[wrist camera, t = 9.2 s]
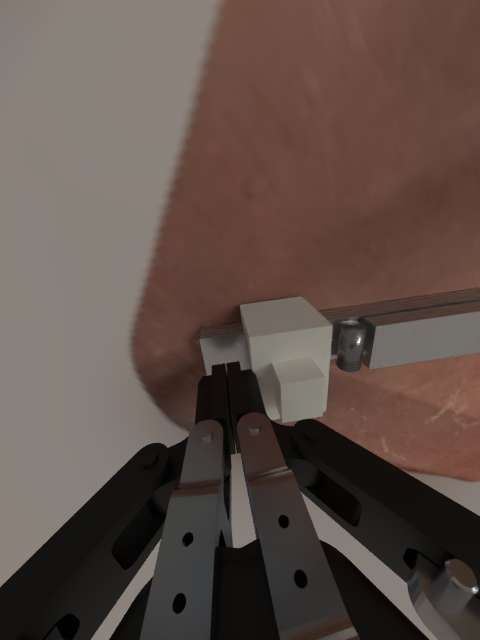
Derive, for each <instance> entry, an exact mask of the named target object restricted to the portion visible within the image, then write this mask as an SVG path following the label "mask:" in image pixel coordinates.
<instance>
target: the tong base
mask: <svg viewBox="0 0 480 640" xmlns="http://www.w3.org/2000/svg"><path fill="white" fill-rule="evenodd" d="M476 301H480V288H474V289H467V290H460V291H453V292H446V293H439V294H433V295H426V296H419V297H412V298H405V299H398V300H391V301H384V302H377V303H370V304H363V305H356V306H349V307H342V308H335V309H328V310H321V311H318V312H319V313H320V314H321V315H322V316H323V317H324V318H326V319H327V320H328V321H329V322H330V323H331V324H332V325H333V328H332V341H331V354H330V360H332V359H337V362H336V364H337V366H338V367H339V368H340V369H341V370H344V371H347V372H356V371H358V370H359V369H360V368H361V362H362V355H363V348H364V341H365V335H366V328H367V327H366V325H365V324H364V323H363V319H364V318H365V317H372V316H378V315H385V314H392V313H399V312H406V311H413V310H420V309H427V308H434V307H441V306H448V305H455V304H462V303H469V302H476ZM199 340H200V345H201V350H202V354H203V359H204V364H205V369H206V373H207V376H208V375H212V365H216V364H223V363H225V365H226V363H229V362H236V361H239V362H240V367H241V370H247V369H251V367H250V357H249V348H248V342H247V339H246V335H245V331H244V327H243V324H242V322H238V323H231V324H224V325H217V326H210V327H203V328H200V337H199ZM226 371H227V367H226Z"/></svg>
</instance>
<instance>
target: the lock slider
mask: <svg viewBox="0 0 480 640" xmlns="http://www.w3.org/2000/svg"><path fill="white" fill-rule="evenodd" d="M240 312H241V320H242V324H243V327H244V331H245V335H246V339H247V342H248V348H249V357H250V367H251V370H252V371H253V372H254V373H255V374H256V376H257V380H258V384H259V388H260V391H261V395H262V399H263V403H264V407H265V410H266V413H267V415H268V417H269V418H270V419H271V420H277V419H281V421H282V423H286V422H292V421H298V420H303V419H310V418H316V417H322V416H323V412H324V411H326V406H327V393H328V380H329V367H330V354H331V341H332V328H333V325H332V324H331V323H330V322H329V321H328V320H327V319H326V318H324V317H323V316H322V315H321V314H320V313H319V312H318V311H317V310H316V309H315V308H314V307H313V306H312V305H311V304H309V303H308V302H307V301H306V300H305V299H304V298H303V297H302V296H300V297H292V298H285V299H278V300H271V301H264V302H257V303H249V304H242V305H240Z"/></svg>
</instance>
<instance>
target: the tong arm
mask: <svg viewBox="0 0 480 640" xmlns="http://www.w3.org/2000/svg"><path fill="white" fill-rule="evenodd" d="M363 323H364V324H365V325H366V327H367V328H366V335H365V341H364V348H363V355H362V363H363V364H364V365H365V366H366V367H367V368H368V369H369V370H370V369H376V368H382V367H389V366H395V365H402V364H408V363H415V362H421V361H427V360H434V359H440V358H447V357H453V356H460V355H466V354H472V353H479V352H480V301H476V302H469V303H462V304H455V305H448V306H441V307H434V308H427V309H420V310H413V311H406V312H399V313H392V314H385V315H378V316H372V317H365V318H364V319H363Z"/></svg>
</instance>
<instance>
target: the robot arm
mask: <svg viewBox="0 0 480 640" xmlns="http://www.w3.org/2000/svg"><path fill="white" fill-rule="evenodd" d="M226 367H227V371H226ZM234 438H235V442H234ZM235 444H236V450H237V453H241V458H242V464H243V471H244V476H245V481H246V486H247V492H248V496H249V502H250V507H251V512H252V517H253V523H254V527H255V534H256V540H255V541H253V542H251V543H249V544H247V545H246V546H244V547H242V548H233V541H232V528H231V454H235V453H236V452H235ZM301 492H302V493H303V494H304V495H305V496H307V497H308V498H309V499H310V500H311V501H312V502H314V503H315V504H316V505H317V506H318V507H319V508H320V509H322V510H323V511H324V512H325V513H326V514H327V515H329V516H330V517H331V518H332V519H334V521H336V522H337V523H338V524H339V525H340V526H341V527H342V528H344V529H345V530H346V531H347V532H349V533H350V534H351V535H352V536H353V537H354V538H355V539H356V540H358V541H359V542H360V543H361V544H362V545H363V546H365V547H366V548H367V549H368V550H369V551H370V552H372V553H373V554H374V555H375V556H376V557H377V558H378V559H380V560H381V561H382V562H383V563H384V564H385V565H387V566H388V567H389V568H390V569H391V570H392V571H394V572H395V573H396V574H397V575H398V576H399V577H401V578H402V579H403V580H404V581H405V582H406V583H407V584H408V593H409V596H410V599H411V602H412V604H413V607H414V609H415V611H416V613H417V614H418V616H419V617H420V619H421V620H422V622H423V623H424V624H425V626H426V627H427V628H428V629H429V630H430V631H431V632H432V633H433V635H434V636H435V637H436V638H437V639H438V640H480V516H478V515H477V514H475V513H473V512H472V511H470V510H468V509H467V508H465V507H463V506H461V505H460V504H458V503H456V502H455V501H453V500H451V499H450V498H448V497H446V496H445V495H443V494H441V493H439V492H438V491H436V490H434V489H433V488H431V487H429V486H428V485H426V484H424V483H422V482H421V481H419V480H417V479H416V478H414V477H412V476H410V475H409V474H407V473H406V472H404V471H402V470H401V469H399V468H397V467H395V466H394V465H392V464H390V463H389V462H387V461H385V460H384V459H382V458H380V457H378V456H377V455H375V454H373V453H372V452H370V451H368V450H367V449H365V448H363V447H362V446H360V445H358V444H356V443H355V442H353V441H351V440H350V439H348V438H346V437H345V436H343V435H341V434H339V433H338V432H336V431H334V430H333V429H331V428H329V427H328V426H326V425H324V424H323V423H321V422H319V421H317V420H314V419H303V420H300V421H298V422H297V423H296V424H295V425H294V427H293V426H285V425H280V424H277V423H275V422H274V421H272V420H271V419H270V418H269V417H268V415H267V413H266V410H265V407H264V403H263V399H262V395H261V391H260V388H259V384H258V380H257V376H256V374H255V373H254V372H253V371H252V370H251V369H247V370H241V367H240V362H239V361H236V362H229V363H226V365H225V363H223V364H216V365H212V375H208V376H203V377H202V379H201V380H200V382H199V383H198V394H197V406H196V417H195V426H194V427H193V428H192V429H191V431H190V433H189V436H188V437H187V438H186V439H185V440H183V441H182V442H180V443H178V444H176V445H173V446H171V447H169V448H167V447H166V446H165V445H164V444H161V443H152V444H149V445H147V446H145V447H143V448H142V449H141V450H140V451H138V452H137V453H136V454H135V455H134V456H133V457H132V458H131V459H130V460H129V461H128V462H127V463H126V464H125V465H124V466H123V467H122V468H121V469H120V470H119V471H118V472H117V473H116V474H115V475H114V476H113V477H112V478H111V479H110V480H109V481H108V482H107V483H106V484H105V485H104V486H103V487H102V488H101V489H100V490H99V491H98V492H97V493H96V494H95V495H94V496H93V497H92V498H91V499H90V500H89V501H87V502H86V504H84V506H83V507H81V508H80V509H79V510H78V511H77V512H76V513H75V514H74V515H73V516H72V517H71V518H70V519H69V520H68V521H67V522H66V523H65V524H64V525H63V526H62V527H61V528H60V529H59V530H58V531H57V532H56V533H55V534H54V535H53V536H52V537H51V538H50V539H49V540H48V541H47V542H46V543H45V544H44V545H43V546H42V547H41V548H40V549H39V550H38V551H37V552H36V553H35V554H34V555H33V556H32V557H31V558H30V559H29V560H28V561H26V563H25V564H24V565H23V566H22V567H21V568H20V569H19V570H17V571H16V573H14V574H13V575H12V576H11V577H10V578H9V579H8V580H7V581H6V582H5V583H4V584H3V585H2V586H1V587H0V640H91V638H92V637H93V635H94V634H95V632H96V631H97V630H98V628H99V627H100V625H101V624H102V622H103V621H104V619H105V618H106V617H107V615H108V614H109V612H110V611H111V609H112V608H113V607H114V605H115V604H116V602H117V600H118V599H119V598H120V597H121V595H122V594H123V592H124V591H125V589H126V588H127V586H128V585H129V584H130V582H131V581H132V579H133V578H134V576H135V575H136V574H137V572H138V570H139V569H140V568H141V566H142V565H143V564H144V562H145V561H146V559H147V558H148V556H149V555H150V553H151V552H152V551H153V549H154V548H155V546H156V545H157V543H158V542H159V541H160V539H161V542H160V547H159V552H158V556H157V561H156V566H155V570H154V575H153V577H152V578H151V579H150V580H149V581H148V583H147V584H146V585H145V586H144V587H143V589H142V590H141V591H140V593H139V594H138V595H137V597H136V598H135V600H134V601H133V603H132V604H131V606H130V607H129V609H128V611H127V612H126V614H125V615H124V617H123V619H122V620H121V622H120V623H119V625H118V626H117V628H116V630H115V631H114V633H113V634H112V636H111V638H110V639H109V640H429V639H428V638H427V637H426V636H425V635H424V634H423V633H422V632H421V631H420V630H419V629H418V628H417V627H416V626H415V625H414V624H413V623H412V622H411V621H410V620H409V619H408V618H407V617H406V616H405V615H404V614H403V613H402V612H401V611H400V610H399V609H398V608H397V607H396V606H395V605H394V604H393V603H392V602H391V601H390V600H389V599H388V598H387V597H386V596H385V595H384V594H383V593H382V592H381V591H380V590H379V589H378V588H377V587H376V586H375V585H374V584H373V583H372V582H371V581H370V580H369V579H368V578H367V577H366V576H365V575H364V574H363V573H362V572H361V571H360V570H359V569H358V568H357V567H356V566H355V565H354V564H353V563H352V562H351V561H350V560H349V559H348V558H347V557H345V556H344V555H343V554H342V553H341V552H339V551H338V550H337V549H336V548H334V547H332V546H331V545H329V544H327V543H326V542H323V541H321V540H319V538H318V536H317V533H316V531H315V528H314V525H313V523H312V520H311V517H310V515H309V512H308V510H307V507H306V504H305V502H304V499H303V497H302V494H301Z"/></svg>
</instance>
